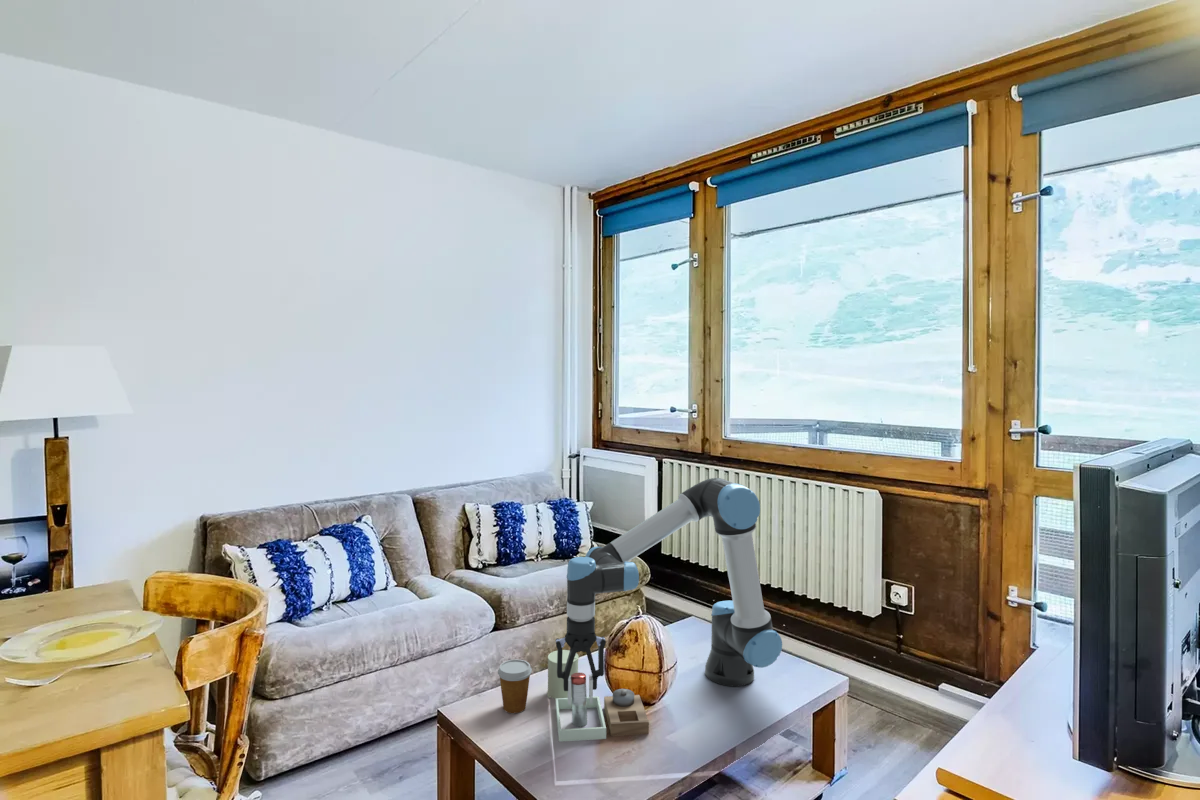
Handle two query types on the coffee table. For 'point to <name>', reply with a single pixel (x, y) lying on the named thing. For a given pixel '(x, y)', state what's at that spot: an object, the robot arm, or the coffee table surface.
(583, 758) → the coffee table surface
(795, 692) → the coffee table surface
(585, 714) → the red capped bottle
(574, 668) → the can
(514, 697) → the disposable coffee cup
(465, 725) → the coffee table surface
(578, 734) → the tray
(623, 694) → the socket block
